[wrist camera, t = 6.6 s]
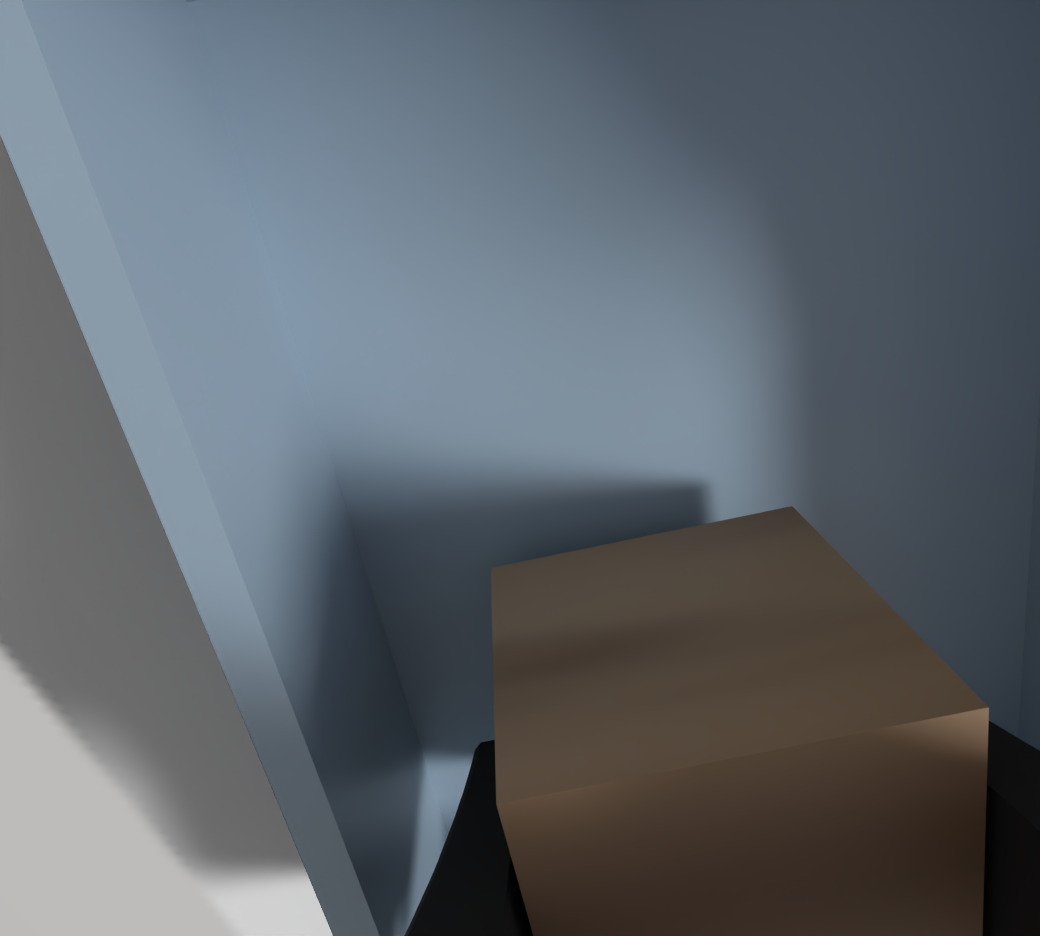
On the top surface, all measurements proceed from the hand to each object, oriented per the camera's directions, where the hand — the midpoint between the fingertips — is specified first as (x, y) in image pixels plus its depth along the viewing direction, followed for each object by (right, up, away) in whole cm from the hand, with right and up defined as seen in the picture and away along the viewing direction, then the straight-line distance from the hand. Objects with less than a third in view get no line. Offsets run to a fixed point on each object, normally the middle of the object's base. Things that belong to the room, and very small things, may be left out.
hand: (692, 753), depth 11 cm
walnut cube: (0, +1, +2) cm, 2 cm away
